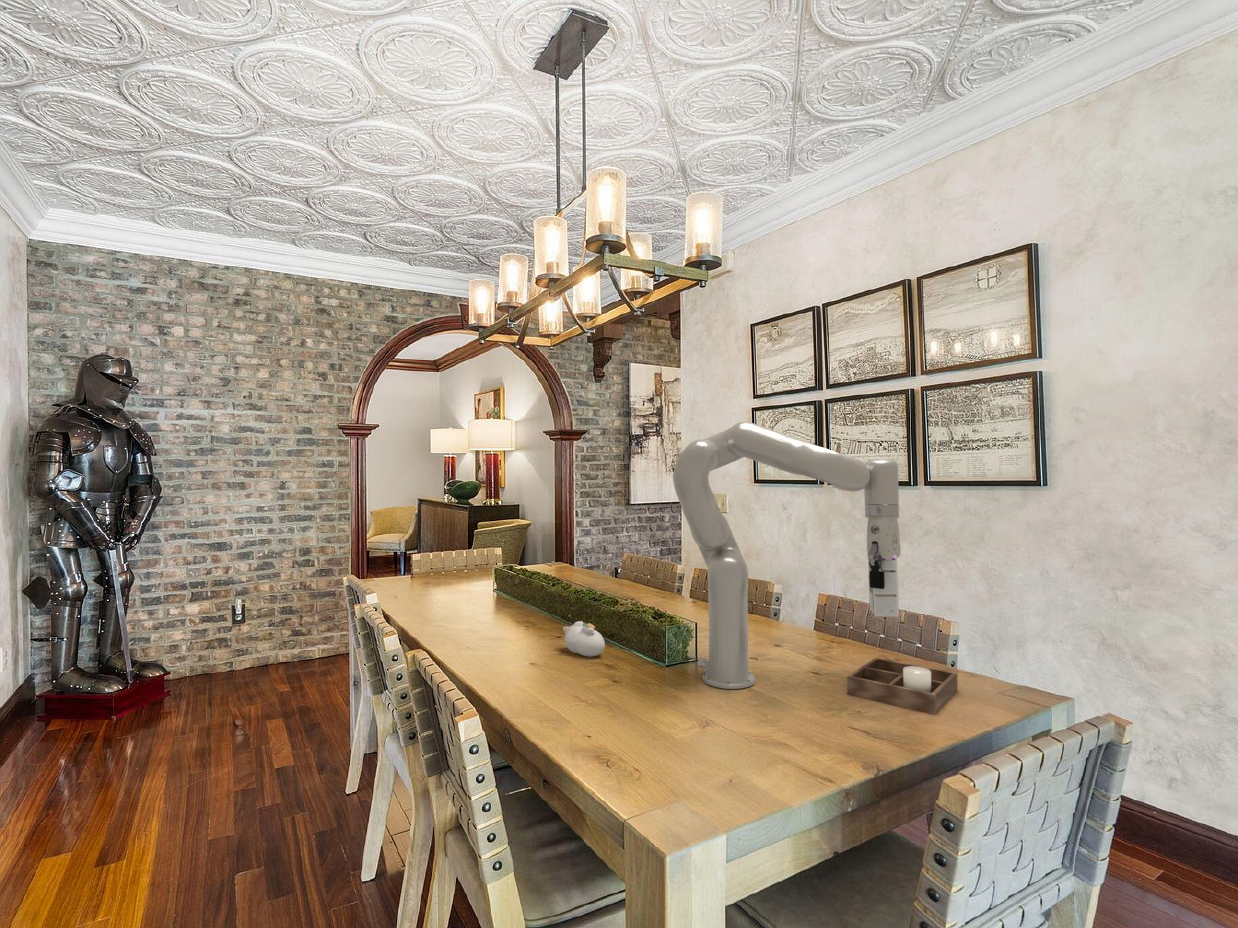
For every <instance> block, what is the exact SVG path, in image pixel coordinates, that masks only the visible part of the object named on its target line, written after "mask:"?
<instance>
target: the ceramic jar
mask: <svg viewBox="0 0 1238 928" xmlns="http://www.w3.org/2000/svg"><path fill="white" fill-rule="evenodd" d="M903 687H905V688H910V689H914V690H919V691H924V692H929V693H931V671H930V670H929V669H926V668H922V667H916V666H908V667H904V668H903Z"/></svg>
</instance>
